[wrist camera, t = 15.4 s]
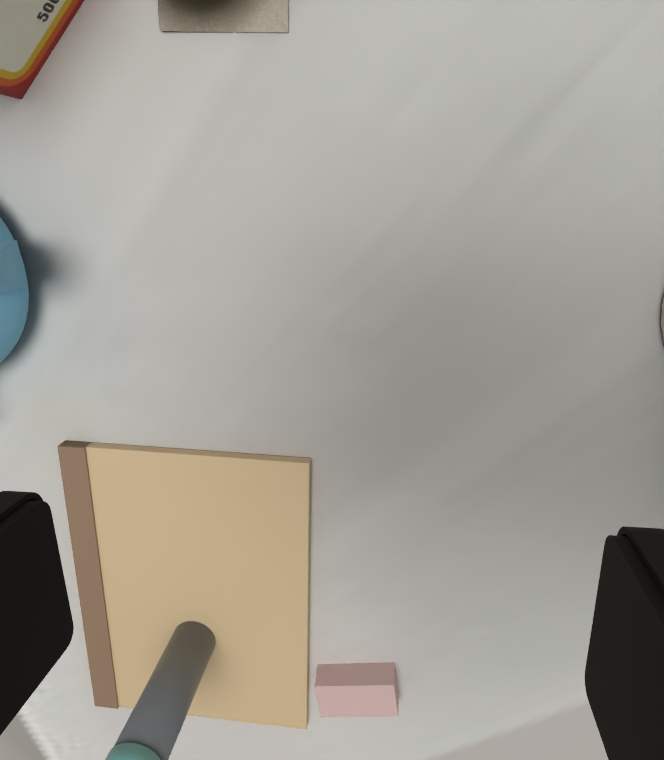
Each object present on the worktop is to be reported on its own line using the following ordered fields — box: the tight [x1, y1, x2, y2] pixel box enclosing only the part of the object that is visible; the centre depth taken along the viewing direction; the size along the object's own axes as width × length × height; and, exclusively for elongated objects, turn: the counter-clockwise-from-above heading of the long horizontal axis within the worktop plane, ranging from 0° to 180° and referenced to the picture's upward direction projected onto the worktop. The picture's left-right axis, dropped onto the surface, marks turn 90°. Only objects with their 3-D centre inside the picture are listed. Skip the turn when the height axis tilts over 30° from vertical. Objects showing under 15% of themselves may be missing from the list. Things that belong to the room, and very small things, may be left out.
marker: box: [105, 621, 216, 760], centre depth 39 cm, size 4×4×12 cm
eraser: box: [315, 662, 398, 717], centre depth 44 cm, size 6×3×2 cm, turn 98°
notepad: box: [58, 441, 311, 729], centre depth 44 cm, size 18×24×1 cm
